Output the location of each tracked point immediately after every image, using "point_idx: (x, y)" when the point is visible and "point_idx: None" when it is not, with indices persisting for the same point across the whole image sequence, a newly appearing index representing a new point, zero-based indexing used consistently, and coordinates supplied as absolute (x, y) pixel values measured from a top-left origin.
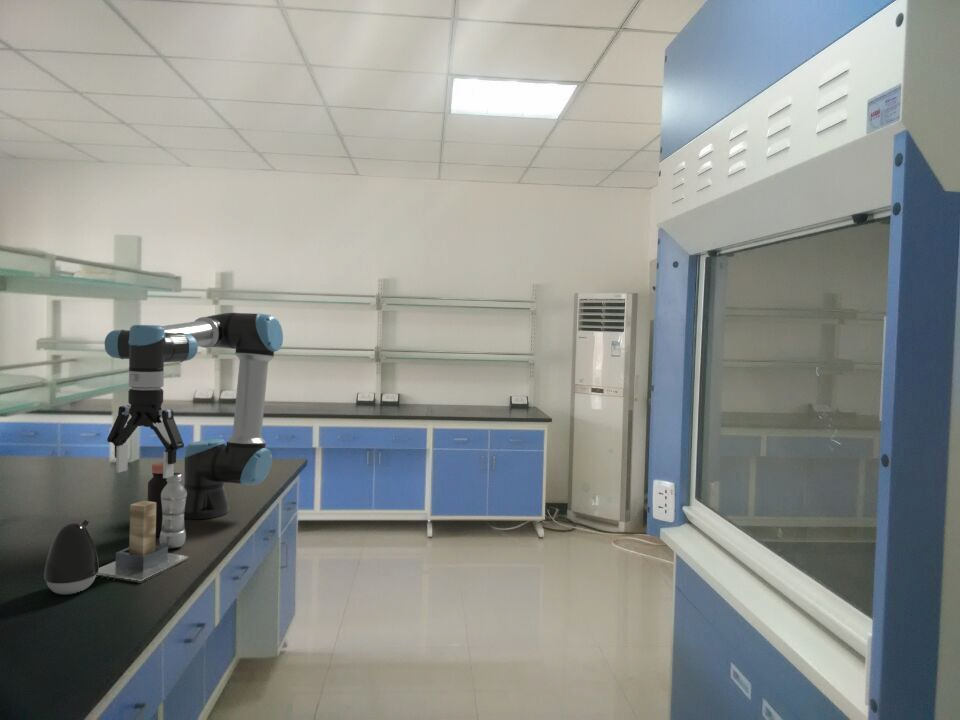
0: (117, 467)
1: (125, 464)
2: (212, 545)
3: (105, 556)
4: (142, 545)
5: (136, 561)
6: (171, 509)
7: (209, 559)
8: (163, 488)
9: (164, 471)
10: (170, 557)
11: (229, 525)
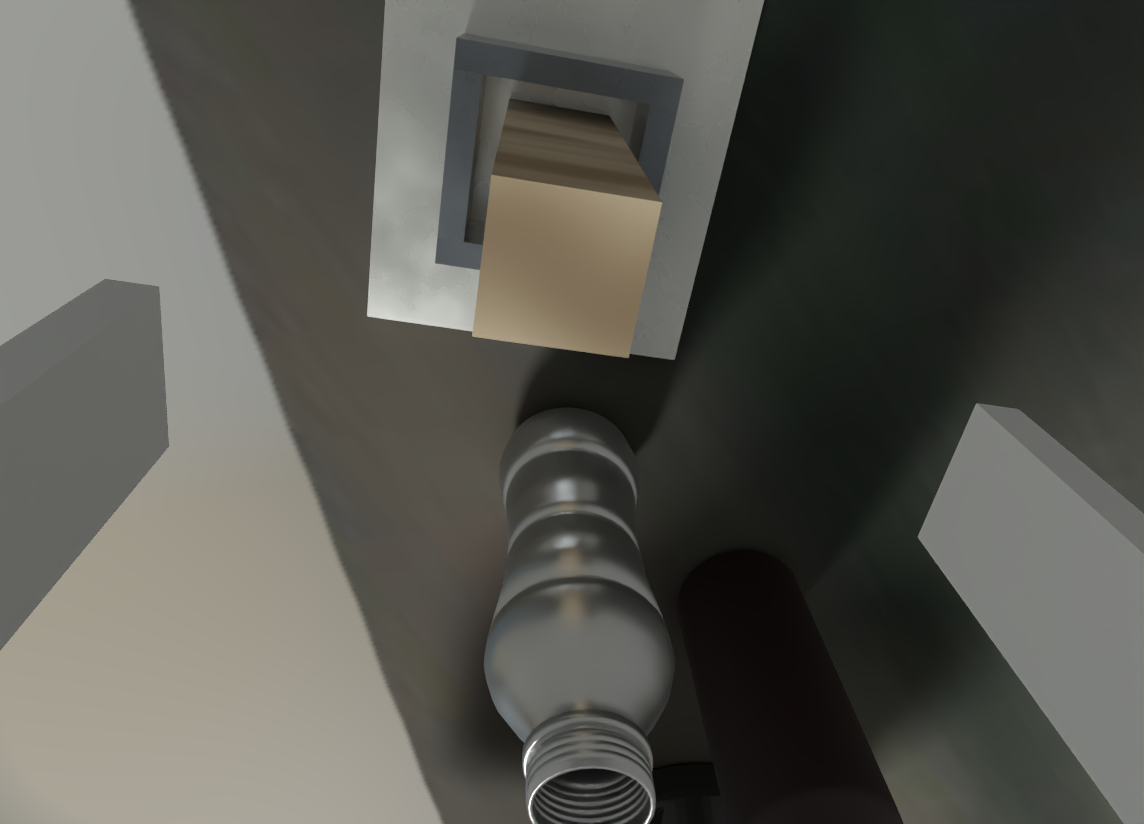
0: (1040, 442)
1: (974, 563)
2: (386, 512)
3: (839, 264)
4: (510, 117)
5: (515, 46)
6: (549, 541)
7: (270, 339)
8: (765, 780)
9: (70, 320)
10: (453, 277)
11: (473, 738)
